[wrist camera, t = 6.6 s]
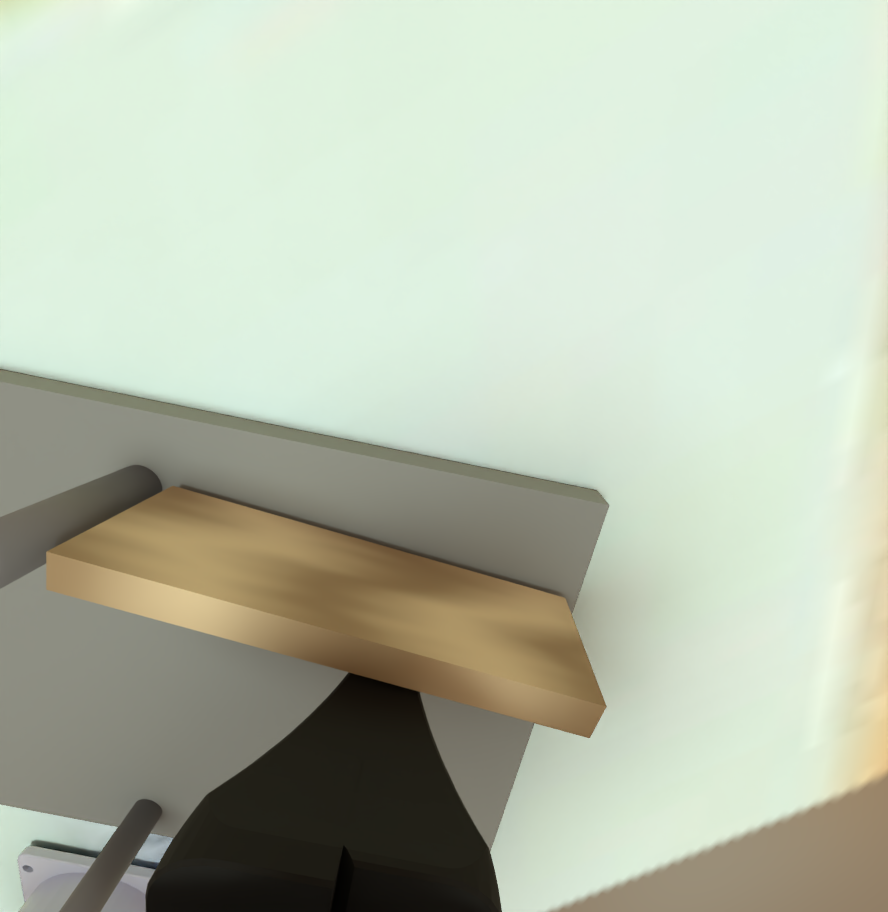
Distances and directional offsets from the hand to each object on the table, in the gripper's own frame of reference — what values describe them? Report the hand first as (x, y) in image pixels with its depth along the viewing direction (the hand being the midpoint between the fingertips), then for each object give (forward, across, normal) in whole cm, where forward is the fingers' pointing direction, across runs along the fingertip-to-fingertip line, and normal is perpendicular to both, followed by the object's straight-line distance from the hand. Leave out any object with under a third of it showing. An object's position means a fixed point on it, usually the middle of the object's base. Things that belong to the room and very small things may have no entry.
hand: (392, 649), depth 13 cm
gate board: (+3, +7, +4) cm, 8 cm away
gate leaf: (+1, +1, -2) cm, 3 cm away
